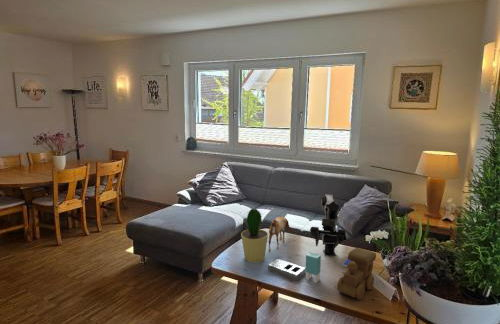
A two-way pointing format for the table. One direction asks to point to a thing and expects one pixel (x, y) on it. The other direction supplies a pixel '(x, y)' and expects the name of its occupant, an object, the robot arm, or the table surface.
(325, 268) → the table surface
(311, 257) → the clip
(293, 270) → the grey block with holes
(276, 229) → the horse figurine
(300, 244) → the table surface
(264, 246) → the potted cactus
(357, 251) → the wooden toy train
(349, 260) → the hard drive
